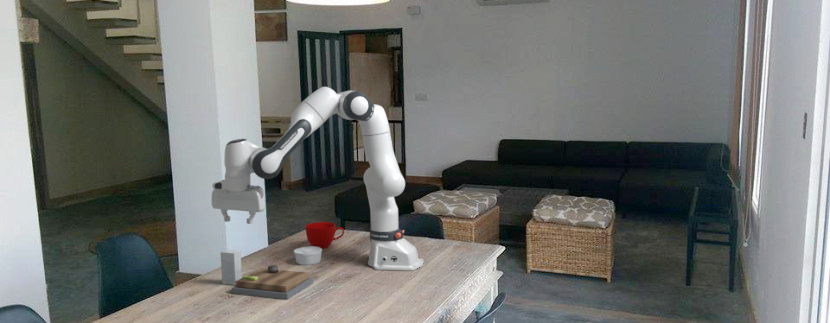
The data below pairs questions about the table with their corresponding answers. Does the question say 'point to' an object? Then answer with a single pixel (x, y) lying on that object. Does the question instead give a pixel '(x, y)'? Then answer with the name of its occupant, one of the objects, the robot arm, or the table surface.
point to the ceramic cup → (321, 234)
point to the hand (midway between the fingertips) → (238, 222)
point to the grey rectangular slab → (273, 293)
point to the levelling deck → (272, 279)
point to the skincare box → (231, 266)
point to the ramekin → (308, 255)
